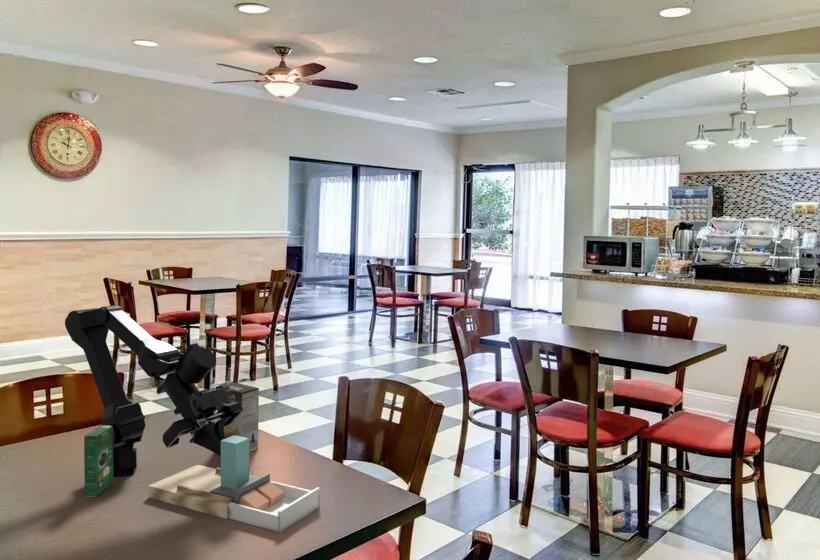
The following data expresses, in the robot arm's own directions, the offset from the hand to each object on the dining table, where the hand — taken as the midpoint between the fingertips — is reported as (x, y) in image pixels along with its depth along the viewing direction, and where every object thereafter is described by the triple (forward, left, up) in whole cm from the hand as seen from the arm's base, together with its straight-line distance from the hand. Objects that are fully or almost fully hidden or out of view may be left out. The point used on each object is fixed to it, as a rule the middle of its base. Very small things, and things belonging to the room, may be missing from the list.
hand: (226, 456), depth 137 cm
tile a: (+8, -4, -8) cm, 12 cm away
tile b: (+4, -8, -8) cm, 12 cm away
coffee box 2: (+4, +32, -9) cm, 33 cm away
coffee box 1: (-26, +13, -9) cm, 30 cm away
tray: (+9, -9, -9) cm, 16 cm away
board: (-3, +3, -9) cm, 10 cm away
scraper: (+3, -3, -7) cm, 8 cm away
